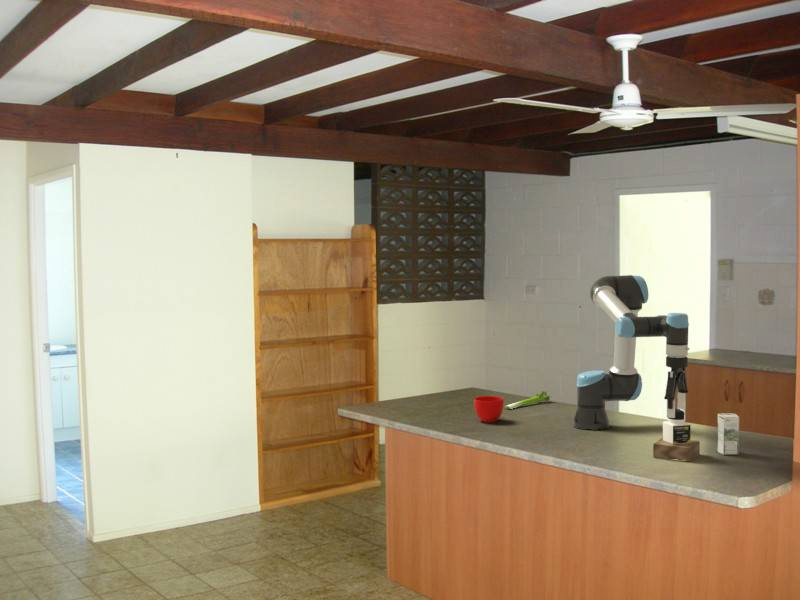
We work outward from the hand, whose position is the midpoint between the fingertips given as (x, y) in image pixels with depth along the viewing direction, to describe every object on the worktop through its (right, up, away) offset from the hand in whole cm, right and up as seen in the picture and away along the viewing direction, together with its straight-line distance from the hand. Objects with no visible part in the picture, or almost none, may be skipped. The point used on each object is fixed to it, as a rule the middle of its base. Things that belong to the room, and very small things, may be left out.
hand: (676, 414), depth 309 cm
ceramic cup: (-61, -12, +70) cm, 93 cm away
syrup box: (+20, -15, +3) cm, 25 cm away
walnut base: (0, -15, +1) cm, 15 cm away
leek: (-38, -10, +103) cm, 110 cm away
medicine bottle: (0, -11, +1) cm, 11 cm away
